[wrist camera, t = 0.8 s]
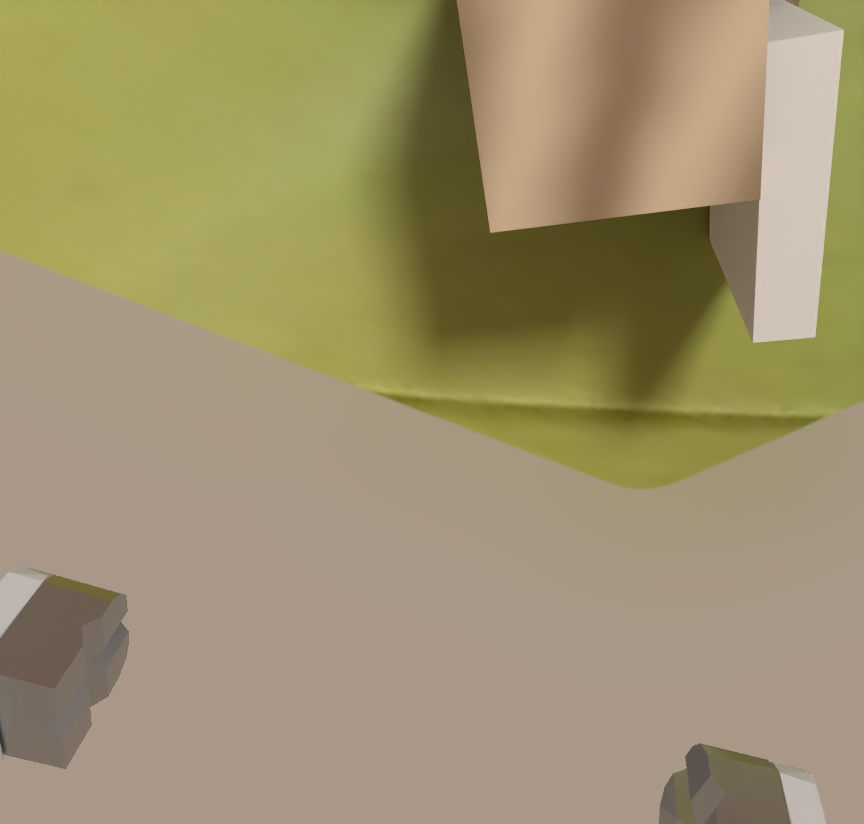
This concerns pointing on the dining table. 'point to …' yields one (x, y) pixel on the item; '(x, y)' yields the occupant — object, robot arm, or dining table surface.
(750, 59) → the cabinet
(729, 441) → the dining table surface
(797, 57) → the door
